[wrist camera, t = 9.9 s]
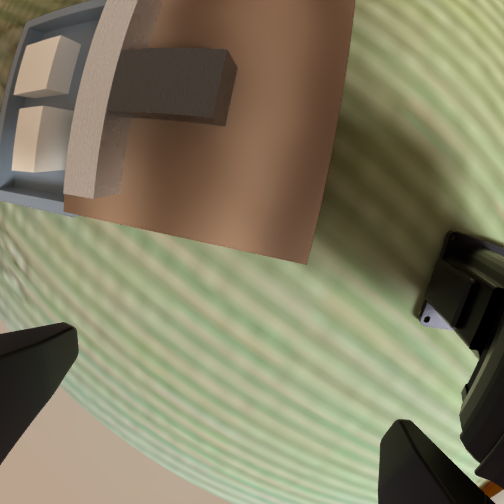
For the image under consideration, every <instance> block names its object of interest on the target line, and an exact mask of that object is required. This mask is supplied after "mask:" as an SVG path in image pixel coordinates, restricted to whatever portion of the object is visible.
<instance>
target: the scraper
mask: <svg viewBox="0 0 504 504" xmlns="http://www.w3.org/2000/svg"><path fill="white" fill-rule="evenodd" d="M161 6H162V2H161V0H107V1H106V4H105V6H104V9H103V11H102V14H101V17H100V19H99V22H98V25H97V28H96V31H95V34H94V37H93V40H92V43H91V46H90V49H89V53H88V56H87V60H86V63H85V67H84V70H83V74H82V78H81V82H80V86H79V91H78V95H77V100H76V104H75V109H74V114H73V120H72V125H71V131H70V138H69V144H68V152H67V159H66V168H65V178H64V190H63V194H68V195H74V196H79V197H85V198H91V199H96V198H101V197H106V196H112V195H117V194H120V189H121V181H122V173H123V165H124V158H125V152H126V145H127V139H128V134H129V128H130V123H131V118H144V119H159V120H171V121H182V122H192V123H201V124H209V125H217V126H224V127H225V126H226V121H227V116H228V111H229V106H230V102H231V97H232V92H233V87H234V83H235V78H236V74H237V69H238V67H237V65H236V64H235V62H234V60H233V58H232V57H231V55H230V53H229V51H228V49H212V48H148V47H149V43H150V40H151V37H152V33H153V30H154V27H155V24H156V21H157V18H158V15H159V12H160V9H161Z"/></svg>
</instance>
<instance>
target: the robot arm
mask: <svg viewBox="0 0 504 504" xmlns="http://www.w3.org/2000/svg"><path fill="white" fill-rule="evenodd" d="M454 235H455V240H454V241H453V242H452V237H453V236H454ZM425 297H426V299H425V302H424V304H423V307H422V310H421V312H420V315H419V321H420V323H421V324H422V325H423V326H428V327H434V328H440V329H447V330H453V331H455V332H456V333H457V334H458V336H459V337H460V338H461V339H462V340H463V341H464V343H465V344H466V345H467V346H468V347H469V349H471V351H472V352H473V353H474V354H475V355H476V357H477V358H478V359H479V361H478V363H477V365H476V368H475V370H474V372H473V374H472V376H471V378H470V380H469V382H468V384H466V385H465V386H464V388H463V390H462V392H461V394H462V400H463V403H462V406H461V411H460V415H459V416H460V422H461V428H462V433H461V434H460V439H461V441H462V443H463V444H464V446H465V448H466V450H467V451H468V452H469V454H470V455H471V456H472V457H473V458H474V459H475V460H476V461H477V462H479V463H480V465H479V466H478V467H477V468H476V470H475V474H476V475H477V476H479V477H482V478H485V479H487V480H490V481H492V482H494V483H495V484H497V485H498V486H500V487H502V488H503V489H504V248H503V247H500V246H498V245H495V244H492V243H489V242H487V241H484V240H481V239H478V238H475V237H472V236H469V235H467V234H464V233H461V232H458V231H455V230H451V231H449V232H448V233H447V235H446V238H445V241H444V245H443V248H442V252H441V255H440V258H439V260H438V261H437V263H436V266H435V269H434V272H433V275H432V278H431V281H430V284H429V287H428V290H427V292H426V295H425ZM426 316H428V318H427V319H426V320H424V318H425V317H426ZM78 352H79V348H78V337H77V330H76V328H75V327H74V326H72V325H70V324H68V323H65V322H62V323H57V324H51V325H46V326H41V327H36V328H30V329H25V330H20V331H14V332H9V333H3V334H0V465H1V463H2V462H3V461H4V459H5V458H6V456H7V455H8V453H9V452H10V451H11V449H12V448H13V447H14V445H15V444H16V442H17V441H18V440H19V438H20V437H21V436H22V434H23V433H24V432H25V430H26V429H27V428H28V426H29V425H30V424H31V422H32V421H33V420H34V418H35V417H36V416H37V415H38V413H39V412H40V410H41V409H42V408H43V407H44V406H45V405H46V403H47V402H48V401H49V399H50V398H51V397H52V395H53V394H54V392H55V391H56V390H57V388H58V386H59V385H60V383H61V382H62V380H63V378H64V377H65V375H66V374H67V372H68V371H69V369H70V368H71V366H72V364H73V363H74V361H75V360H76V358H77V356H78ZM378 504H495V503H494V502H493V501H492V500H491V499H490V498H489V497H488V496H487V495H486V494H485V495H484V492H483V491H482V490H481V489H480V488H479V487H478V486H477V485H476V484H475V483H474V482H473V481H472V480H471V479H470V478H469V477H468V476H467V475H465V474H464V473H463V472H462V471H461V470H460V469H459V468H458V467H457V466H456V465H455V464H454V463H453V462H452V461H451V460H450V459H449V458H448V457H447V456H446V455H445V454H444V453H443V452H442V451H441V450H440V449H439V448H438V447H437V446H436V445H435V444H434V443H433V442H432V441H431V440H430V439H429V438H428V437H427V436H426V435H425V434H424V433H423V432H422V431H421V430H420V429H419V428H418V427H417V426H416V425H415V424H414V423H413V422H412V421H410V420H405V419H398V420H396V421H395V422H394V423H393V424H392V426H391V427H390V428H389V430H388V431H387V432H386V434H385V435H384V436H383V438H382V440H381V443H380V462H379V480H378Z"/></svg>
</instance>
